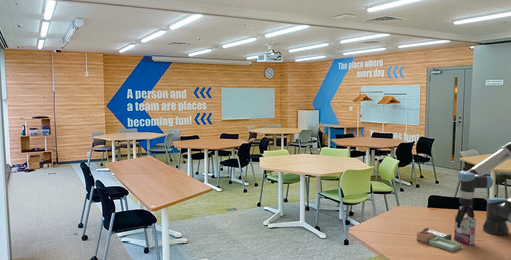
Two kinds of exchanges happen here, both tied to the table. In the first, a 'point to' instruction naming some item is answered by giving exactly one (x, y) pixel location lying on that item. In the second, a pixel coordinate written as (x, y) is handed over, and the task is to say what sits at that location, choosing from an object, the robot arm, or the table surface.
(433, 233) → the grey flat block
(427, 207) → the table surface
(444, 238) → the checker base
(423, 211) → the table surface
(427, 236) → the terracotta square pot
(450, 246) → the pale green shallow tray
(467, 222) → the candy bar box
